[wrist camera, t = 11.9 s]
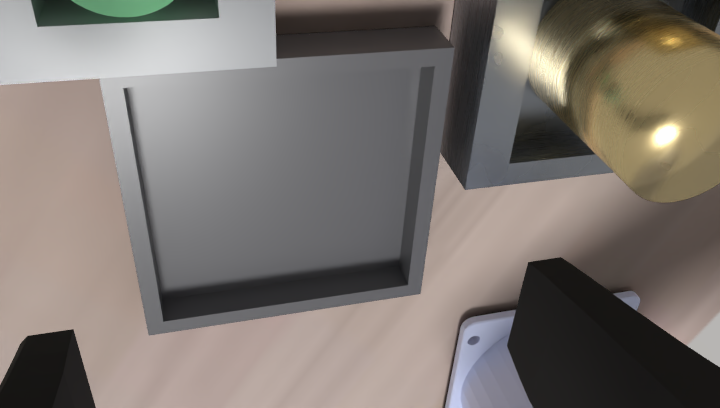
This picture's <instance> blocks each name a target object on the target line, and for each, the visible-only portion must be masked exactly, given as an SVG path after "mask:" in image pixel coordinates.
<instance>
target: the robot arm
mask: <svg viewBox="0 0 720 408" xmlns="http://www.w3.org/2000/svg"><path fill="white" fill-rule="evenodd" d="M639 304H640V298H639V296H638V295H637V294H636V293H635V292H633V291H626V292H620V293H614V294H612V293H611V292H610V291H608V290H607V289H605V288H604V287H603V286H601V285H600V284H598V283H597V282H596V281H594V280H593V279H592V278H590V277H589V276H587V275H586V274H585V273H583V272H582V271H580V270H579V269H577V268H576V267H574V266H573V265H572V264H570V263H569V262H567V261H566V260H564V259H563V258H561V257H560V258H554V259H547V260H540V261H533V262H528V266H527V269H526V273H525V277H524V281H523V285H522V289H521V293H520V297H519V300H518V304H517V308H516V310H510V311H504V312H498V313H492V314H486V315H480V316H474V317H470V318H468V319H467V320H465V321H464V322H463V323H462V325H461V328H460V333H459V338H458V343H457V349H456V354H455V359H454V364H453V369H452V374H451V379H450V384H449V390H448V395H447V400H446V405H445V408H720V367H718V366H717V365H715V364H714V363H712V362H710V361H709V360H707V359H706V358H704V357H703V356H701V355H700V354H698V353H697V352H695V351H694V350H692V349H691V348H689V347H688V346H686V345H685V344H683V343H682V342H680V341H679V340H677V339H676V338H674V337H673V336H671V335H670V334H669V333H667V332H666V331H664V330H663V329H661V328H660V327H659V326H657V325H656V324H654V323H653V322H651V321H650V320H649V319H647V318H646V317H644V316H643V315H642V314H640V313H639V312H637V309H638V306H639ZM0 408H96V407H95V404H94V400H93V397H92V393H91V390H90V386H89V383H88V379H87V376H86V372H85V369H84V365H83V362H82V358H81V355H80V351H79V348H78V344H77V341H76V337H75V334H74V330H73V329H72V330H65V331H59V332H52V333H45V334H38V335H32V336H27V337H26V338H25V339H24V340H23V341H22V342H21V344H20V346H19V348H18V350H17V352H16V355H15V357H14V359H13V361H12V363H11V365H10V367H9V369H8V371H7V373H6V375H5V377H4V379H3V381H2V383H1V385H0Z"/></svg>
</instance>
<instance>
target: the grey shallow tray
mask: <svg viewBox="0 0 720 408" xmlns="http://www.w3.org/2000/svg"><path fill="white" fill-rule="evenodd" d="M558 1H559V0H455V6H454V13H453V21H452V28H451V36H450V43H451V44H452V45H453V46H454V47H455V49H454V56H453V63H452V70H451V78H450V85H449V92H448V99H447V106H446V114H445V121H444V128H443V135H442V142H441V149H440V153H441V154H442V156H443V157H444V159H445V160H446V162H447V163H448V165H449V166H450V168H451V169H452V171H453V172H454V174H455V175H456V177H457V178H458V180H459V181H460V183H461V184H462V186H463V187H464V189H465V190H468V189H476V188H485V187H493V186H502V185H510V184H519V183H527V182H536V181H544V180H553V179H562V178H570V177H579V176H587V175H596V174H604V173H613V171H612V170H611V169H610V168H609V167H608V166H607V165H606V164H605V163H604V162H603V161H602V160H601V159H600V158H599V157H598V156H597V155H596V154H595V153H594V152H593V151H592V150H591V149H590V148H589V147H588V146H587V145H586V144H585V143H584V142H583V141H582V140H581V139H580V138H579V137H578V136H577V135H576V134H575V133H574V132H573V131H572V130H571V129H570V128H569V127H568V126H567V125H566V124H565V123H564V122H563V121H562V120H561V119H560V118H559V117H558V116H557V115H556V114H555V113H554V112H553V111H552V110H551V109H550V108H549V107H548V106H547V105H546V104H545V103H544V102H543V101H542V100H541V99H540V98H539V97H538V96H537V95H536V94H535V92H534V91H533V89H532V87H531V85H530V83H529V80H528V72H529V67H530V62H531V58H532V53H533V48H534V44H535V39H536V34H537V29H538V25H539V24H540V22H541V21H542V19H543V18H544V16H545V15H546V14H547V13H548V11H549V10H550V9H551V8H552V7H553V6H554V5H555V4H556V3H557V2H558ZM660 1H662V2H663V3H665V4H667V5H669V6H670V7H672V8H674V9H675V10H677V11H679V12H681V13H682V14H684V15H686V16H687V17H689V18H691V19H693V20H694V21H696V22H698V23H699V24H701V25H703V26H705V27H706V28H708V29H710V30H712V31H713V32H715V33H717V34H718V35H720V0H660Z"/></svg>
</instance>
